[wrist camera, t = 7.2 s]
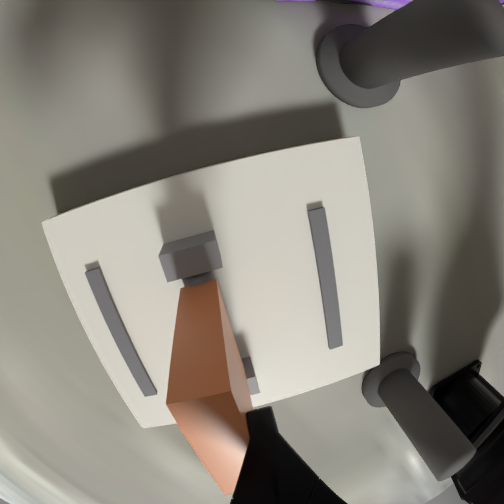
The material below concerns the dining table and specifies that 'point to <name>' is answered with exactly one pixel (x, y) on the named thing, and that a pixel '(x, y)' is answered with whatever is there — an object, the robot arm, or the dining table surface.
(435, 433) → the far post
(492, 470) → the robot arm
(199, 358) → the block
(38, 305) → the dining table surface
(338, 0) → the candy box
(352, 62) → the near post
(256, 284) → the panel
